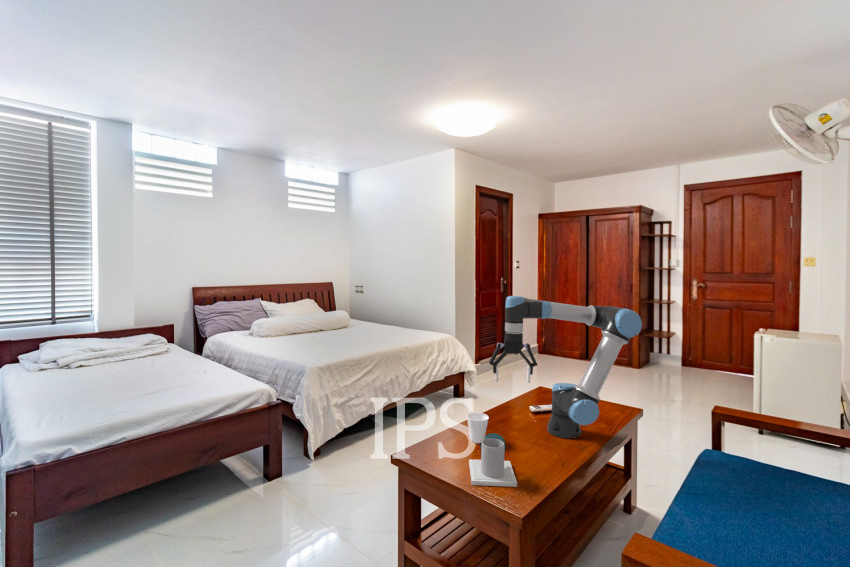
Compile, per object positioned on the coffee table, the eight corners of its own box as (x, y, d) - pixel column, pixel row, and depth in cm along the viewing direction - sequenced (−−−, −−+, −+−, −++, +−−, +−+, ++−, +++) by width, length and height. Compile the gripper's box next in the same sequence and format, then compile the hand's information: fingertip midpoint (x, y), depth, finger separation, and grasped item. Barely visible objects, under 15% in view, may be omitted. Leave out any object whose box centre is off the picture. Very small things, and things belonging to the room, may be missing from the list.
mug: (498, 480, 145) (499, 450, 145) (476, 473, 150) (477, 444, 149) (511, 466, 155) (511, 438, 155) (490, 460, 160) (491, 433, 159)
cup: (487, 446, 176) (488, 421, 175) (464, 444, 178) (465, 419, 177) (488, 437, 185) (489, 413, 185) (467, 435, 187) (467, 411, 187)
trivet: (509, 464, 160) (509, 460, 160) (517, 486, 144) (517, 482, 144) (468, 463, 161) (469, 459, 161) (471, 484, 145) (471, 480, 145)
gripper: (541, 331, 177) (539, 379, 178) (483, 330, 178) (482, 378, 179) (545, 334, 169) (544, 384, 170) (485, 333, 171) (484, 383, 171)
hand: (512, 381), depth 175 cm, fingers open, 13 cm apart
